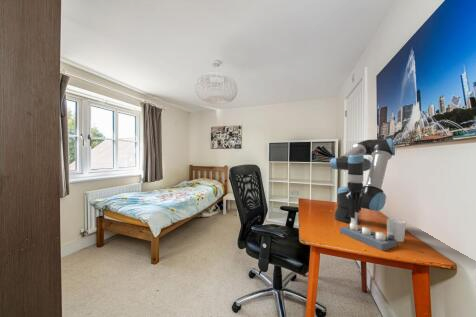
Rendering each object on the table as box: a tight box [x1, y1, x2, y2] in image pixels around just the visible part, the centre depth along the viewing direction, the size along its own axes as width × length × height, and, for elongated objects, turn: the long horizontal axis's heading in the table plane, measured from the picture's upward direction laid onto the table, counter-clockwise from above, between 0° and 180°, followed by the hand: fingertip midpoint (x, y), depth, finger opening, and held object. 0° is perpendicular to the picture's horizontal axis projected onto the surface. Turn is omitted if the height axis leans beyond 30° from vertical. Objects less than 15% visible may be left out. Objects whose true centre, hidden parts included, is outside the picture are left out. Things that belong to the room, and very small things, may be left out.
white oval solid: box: [361, 226, 372, 236], centre depth 102 cm, size 4×4×5 cm
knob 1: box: [349, 223, 359, 231], centre depth 108 cm, size 4×4×5 cm
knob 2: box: [375, 231, 387, 242], centre depth 95 cm, size 4×4×5 cm
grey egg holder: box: [339, 225, 398, 251], centre depth 102 cm, size 12×22×6 cm, turn 23°
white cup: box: [386, 218, 407, 243], centre depth 102 cm, size 8×8×10 cm
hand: (354, 223), depth 108 cm, fingers closed
